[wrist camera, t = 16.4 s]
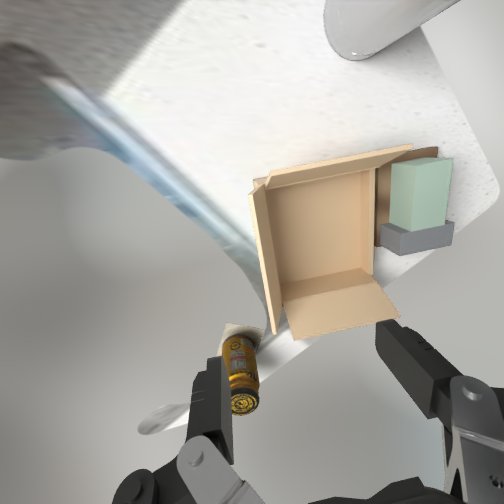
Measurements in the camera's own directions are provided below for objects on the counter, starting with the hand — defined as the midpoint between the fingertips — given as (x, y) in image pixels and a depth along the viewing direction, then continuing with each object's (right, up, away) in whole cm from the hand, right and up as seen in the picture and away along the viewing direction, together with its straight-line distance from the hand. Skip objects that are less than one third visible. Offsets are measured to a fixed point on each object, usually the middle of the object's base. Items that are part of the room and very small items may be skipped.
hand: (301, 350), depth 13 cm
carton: (+7, +9, +28) cm, 30 cm away
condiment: (-5, -12, +35) cm, 38 cm away
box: (+22, +12, +27) cm, 36 cm away
